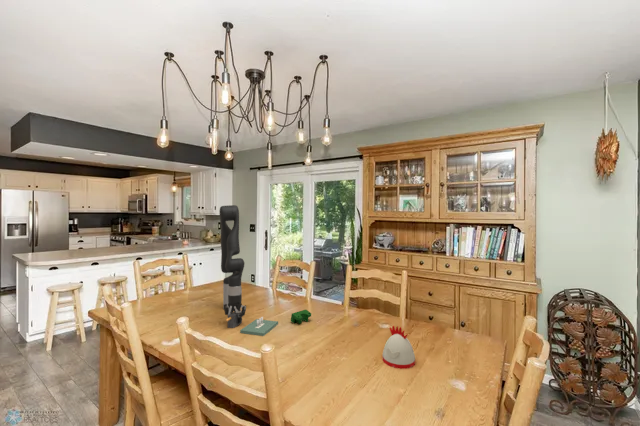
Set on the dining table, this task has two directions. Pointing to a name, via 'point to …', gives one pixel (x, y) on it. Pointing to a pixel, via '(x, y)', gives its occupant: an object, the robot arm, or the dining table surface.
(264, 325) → the header board
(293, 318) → the green toy animal
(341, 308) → the dining table surface
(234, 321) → the block
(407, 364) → the kitchen timer
